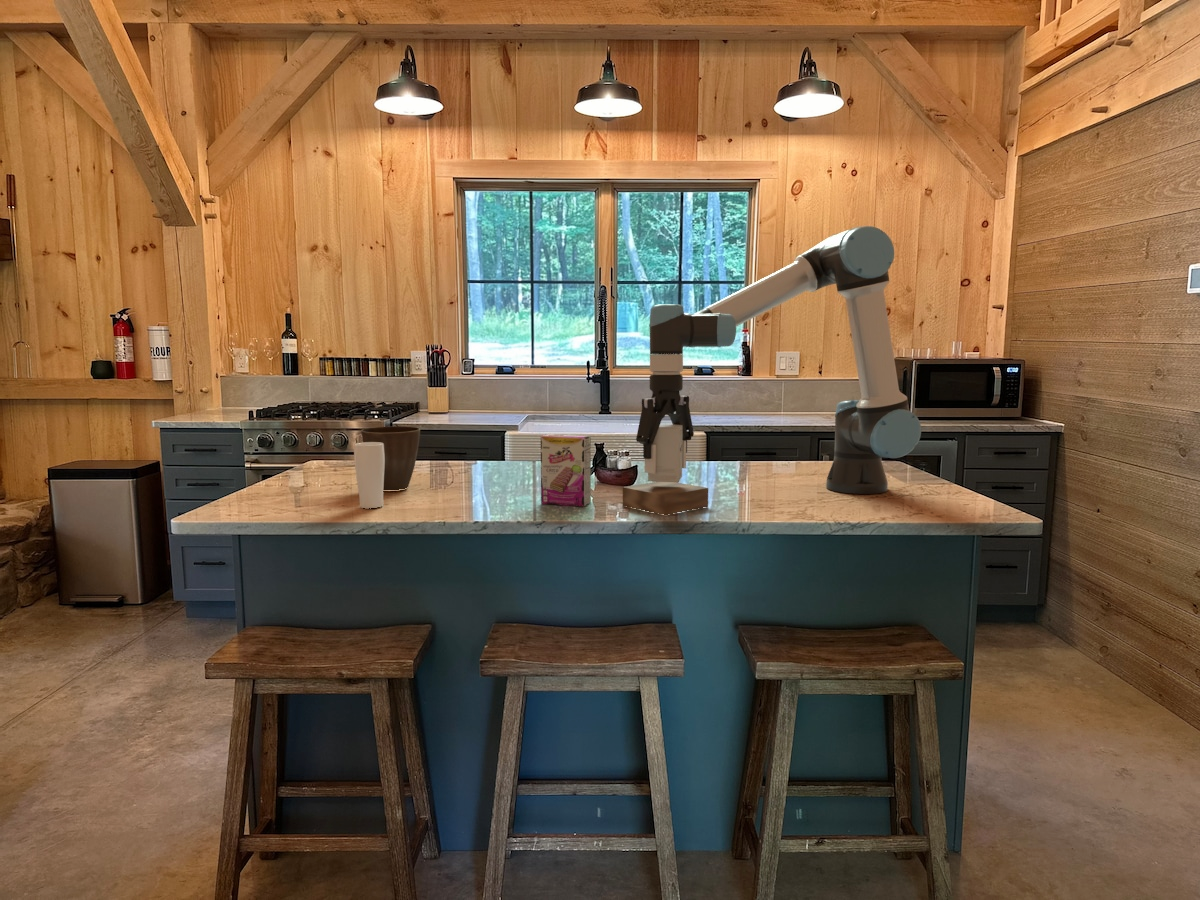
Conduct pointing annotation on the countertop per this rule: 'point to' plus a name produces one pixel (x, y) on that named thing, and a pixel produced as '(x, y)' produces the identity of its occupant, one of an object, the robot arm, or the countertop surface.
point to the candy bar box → (565, 469)
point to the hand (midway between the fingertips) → (665, 470)
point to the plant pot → (396, 452)
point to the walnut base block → (665, 497)
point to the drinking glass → (370, 473)
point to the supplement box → (668, 454)
